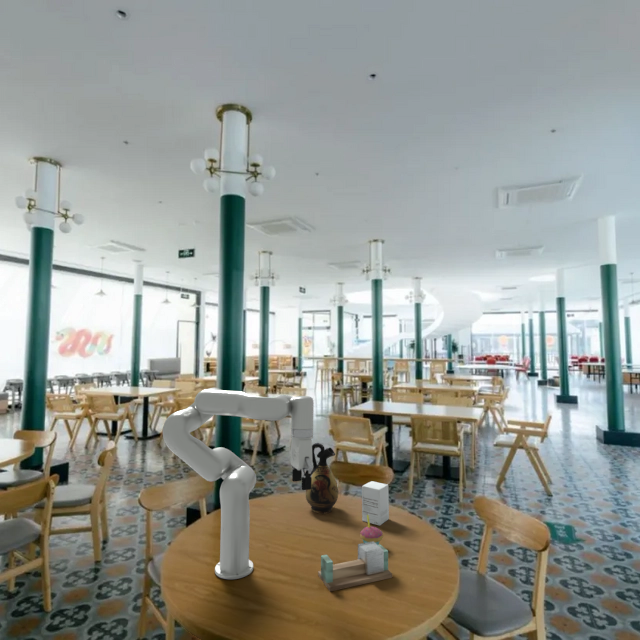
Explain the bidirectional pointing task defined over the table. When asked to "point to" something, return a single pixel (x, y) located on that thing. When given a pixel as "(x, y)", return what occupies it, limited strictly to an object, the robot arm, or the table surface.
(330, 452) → the ceramic jug
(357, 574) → the rail bed
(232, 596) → the table surface
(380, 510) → the supplement box
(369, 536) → the cupcake
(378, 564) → the grey sliding block
